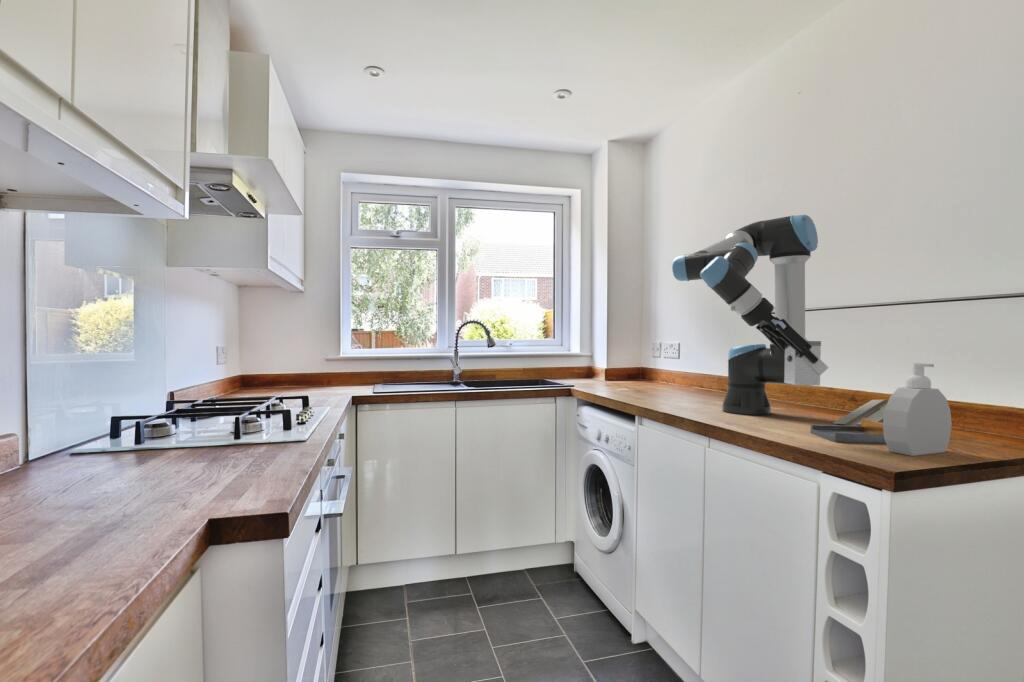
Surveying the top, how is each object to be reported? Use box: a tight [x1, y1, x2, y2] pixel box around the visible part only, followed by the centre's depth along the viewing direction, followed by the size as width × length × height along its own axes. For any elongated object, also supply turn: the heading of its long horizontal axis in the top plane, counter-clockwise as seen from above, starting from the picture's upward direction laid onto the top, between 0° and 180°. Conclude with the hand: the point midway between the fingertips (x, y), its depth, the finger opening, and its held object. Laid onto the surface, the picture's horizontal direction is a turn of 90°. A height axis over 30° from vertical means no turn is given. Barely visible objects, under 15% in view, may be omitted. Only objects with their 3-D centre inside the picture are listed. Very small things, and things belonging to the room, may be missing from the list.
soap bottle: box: [883, 362, 953, 457], centre depth 111 cm, size 16×5×20 cm, turn 111°
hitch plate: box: [810, 419, 887, 445], centre depth 127 cm, size 12×14×4 cm
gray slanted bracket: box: [832, 399, 888, 426], centre depth 143 cm, size 16×9×15 cm
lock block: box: [784, 340, 822, 386], centre depth 128 cm, size 6×6×11 cm
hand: (816, 370), depth 128 cm, fingers closed on lock block, 6 cm apart
